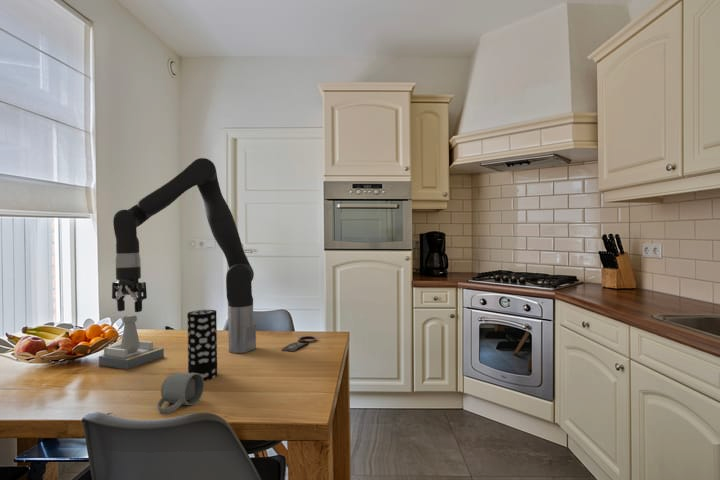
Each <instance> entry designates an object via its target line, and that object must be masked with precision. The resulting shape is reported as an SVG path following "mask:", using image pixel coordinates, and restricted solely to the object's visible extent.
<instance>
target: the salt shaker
mask: <svg viewBox="0 0 720 480" xmlns="http://www.w3.org/2000/svg"><path fill="white" fill-rule="evenodd" d="M137 316H138V315H135V314H128V315H124V316H123V317H122V323H123V324H124V327H123V332H122V339H121V342H120V343H121V349H125V350H127V354H128V353H134V352H136V351H137V350H138V348H139V346H140V342H139V341H140V339H139V334H138V329H137V326H136V322H137V320H138V317H137Z"/></svg>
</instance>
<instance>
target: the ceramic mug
mask: <svg viewBox="0 0 720 480" xmlns="http://www.w3.org/2000/svg"><path fill="white" fill-rule="evenodd" d="M204 389H205V381H204V380H203V377H202V376H201V375H200V374H199V373H188V372H185V373H183V372H180V373H177V372H176V373H173V374H172V373H171V374H170V375H168V376H167V377H166V378H165V379H164V380H163V382H162V384H161V388H160V394H161V398H159V400H158V402H157V409H158V411H159V412H160V413H161V414H170V413H172V412H174V411H176V410H177V409H178V408H180V407H181V406H182V405H184V406H194V405H196V404H197V403H198V402H199V401H200V399H201V398H202V396H203V393H204ZM165 402H166V403H170V404H171V405H170V406H168V407H162V406H163V405H164V404H165Z"/></svg>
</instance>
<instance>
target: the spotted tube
mask: <svg viewBox="0 0 720 480" xmlns="http://www.w3.org/2000/svg"><path fill="white" fill-rule="evenodd" d="M186 318H187V360H188V361H187V370H188V371H187V373H199V374H200V375H201V376H202V377H203V380H204V382H205V381H209V380H212V379H215V378H216V377H218V334H217V333H218V332H217V331H218V330H217V329H218V328H217V327H218V326H217V325H218V322H217V321H218V320H217V310H215V309H200V310H193V311H189V312H187V317H186Z"/></svg>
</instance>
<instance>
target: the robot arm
mask: <svg viewBox="0 0 720 480" xmlns="http://www.w3.org/2000/svg"><path fill="white" fill-rule="evenodd" d="M218 178H219V177H218V173H217V167H216V165H215V164H214V162H213V161H212V160H210V159H208V158H206V157H199V158H197V159H195V160H194V161H192V162H191V163H190V164H189V165H187V167H186V168H184V169H183V170H182V171H181V172H180V173H178V174H177V175H176V176H175V177H174V178H172V179H171V180H169V181H167V182H166V183H165V184H163V185H161V186H160V187H158V188H156V189H155V190H153V191H151V192H150V193H148V194H147V195H144V197H142V198H140V199H139V200H138V201H137V203H136V204H134V205H133V206H131V207H129V208H128V209H125V208H124V209H120V210H118V211H116V212H115V214H114V215H113V219H112V223H113V224H112V225H113V230H114V236H115V240H116V241H115V253H116V254H115V279H116V280H117V281H115V282H112V284H111V288H112V289H111V298H112V299H113V300H115V301H116V308H117V311H118V312H123V311H125V310H126V307H125V305H126V303H125V299H126V296H130V297H131V298H132V299H133V301H134V312H135V313H140V312H142V310H143V301H144V300H146V299H147V298H148V297H147V296H148V295H147V283H146V282H145V281H142V282H140V281H139V279H141V278H142V270H141V269H142V268H141V267H142V266H141V264H142V263H141V257H140V256H141V255H140V242H139V241H140V240H139V237H138V232H137V231H138V230H137V228H138V227H140V226H141V225H142V224H144V223H145V222H146V221H148V220H149V219H150V218H151V217H153V216H155V215H156V214H158V213H160V212H161V211H163V210H164V209H166V208H167V207H169V206H170V205H171V204H172V203H174V202H175V201H176V200H177V199H179V198H180V196H182V195H183V194H184V193H186V192H187V191H188V190H190V189H192V188H193V187H195V186H196V187H197V189H198V191H199V193H200V196H201V198H202V201H203V204H204V209H205V210H204V211H205V215H206V219H207V222H208V225H209V227H210V231H211V233H212V236H213V238H214V240H215V242H216V243H217V245H218V246H219V248H220V249H221V251H222V252H223V254H224V256H225V259H226V262H227V266H228V269H227V272H226V276H225V284H226V285H225V288H226V290H225V291H226V300H227V305H228V306H227V307H228V308H227V310H228V313H227V316H228V320H227V323H228V326H227V327H228V352H229V353H233V354H241V353H243V354H247V353H249V352H251V351H253V350H255V349H257V332H256V331H257V328H256V326H257V325H256V323H254V297H253V292H252V291H253V290H252V282H253V280H254V277H255V276H254V274H255V272H254V269H253V267H252V265H251V263H250V262H249V259H248V257H247V255H246V253H245V250H244V248H243V244H242V241H241V238H240V234H239V231H238V227H237V224H236V222H235V219H234V216H233V213H232V212H231V208H230V207H229V205H228V204H227V201H226V200H225V198H224V196H223V193H222V190H221V187H220V182H219V179H218Z"/></svg>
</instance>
